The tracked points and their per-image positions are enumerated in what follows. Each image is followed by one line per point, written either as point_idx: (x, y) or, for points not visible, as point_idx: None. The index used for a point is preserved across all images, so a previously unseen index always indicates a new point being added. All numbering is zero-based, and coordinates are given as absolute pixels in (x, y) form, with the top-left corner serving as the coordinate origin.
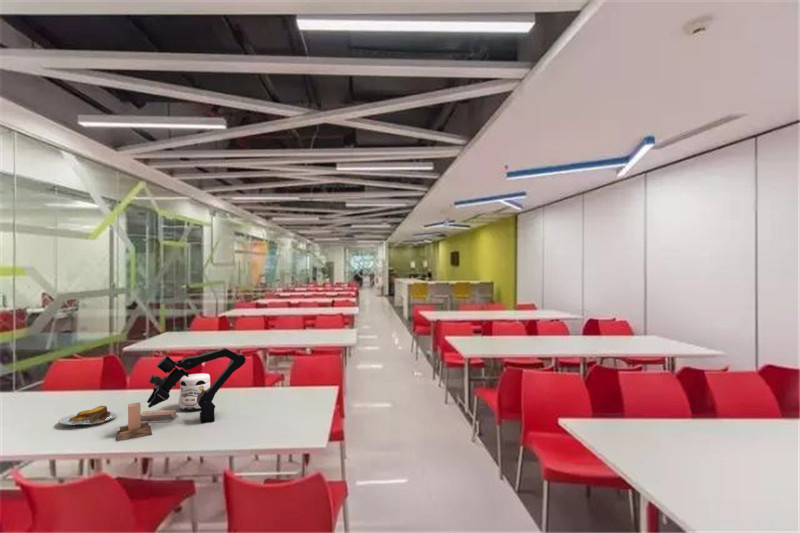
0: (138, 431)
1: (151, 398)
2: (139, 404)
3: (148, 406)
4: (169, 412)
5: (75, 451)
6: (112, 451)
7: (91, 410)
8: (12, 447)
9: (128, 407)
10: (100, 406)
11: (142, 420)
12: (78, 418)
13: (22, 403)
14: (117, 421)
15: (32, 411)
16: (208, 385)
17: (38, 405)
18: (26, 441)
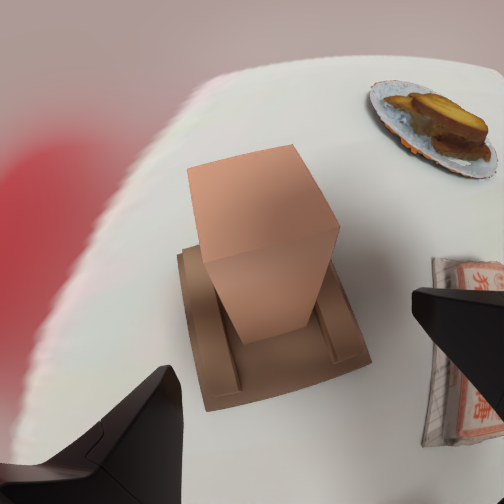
0: (198, 337)
1: (455, 326)
2: (238, 244)
3: (158, 373)
4: (481, 422)
5: (144, 169)
6: (73, 276)
7: (445, 105)
8: (257, 70)
9: (189, 175)
10: (479, 120)
11: (450, 286)
12: (406, 98)
13: (477, 72)
14: (449, 191)
15: (456, 74)
16: None
17: (479, 80)
18: (291, 74)
